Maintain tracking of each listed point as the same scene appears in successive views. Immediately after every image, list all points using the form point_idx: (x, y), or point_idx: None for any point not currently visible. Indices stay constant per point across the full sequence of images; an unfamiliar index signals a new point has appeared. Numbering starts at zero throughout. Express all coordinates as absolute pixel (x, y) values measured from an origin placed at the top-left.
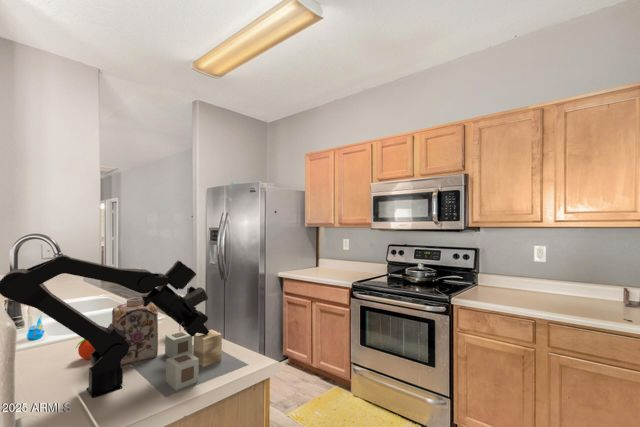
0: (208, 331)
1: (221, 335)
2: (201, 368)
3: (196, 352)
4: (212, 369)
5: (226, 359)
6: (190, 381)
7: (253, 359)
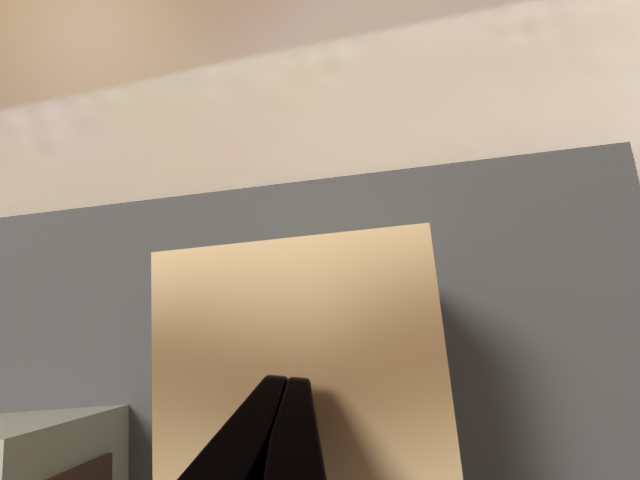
0: (311, 392)
1: (426, 230)
2: None
3: None
4: (529, 405)
5: None
6: None
7: (525, 66)
